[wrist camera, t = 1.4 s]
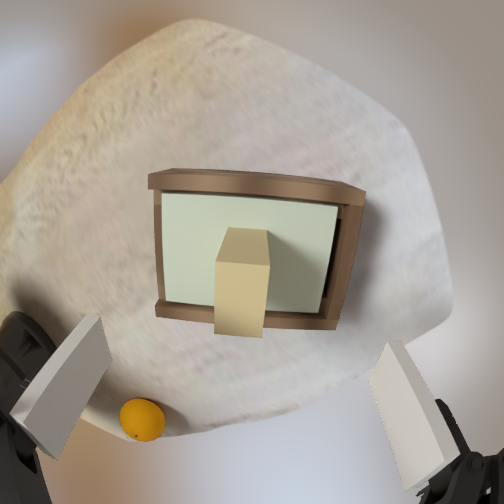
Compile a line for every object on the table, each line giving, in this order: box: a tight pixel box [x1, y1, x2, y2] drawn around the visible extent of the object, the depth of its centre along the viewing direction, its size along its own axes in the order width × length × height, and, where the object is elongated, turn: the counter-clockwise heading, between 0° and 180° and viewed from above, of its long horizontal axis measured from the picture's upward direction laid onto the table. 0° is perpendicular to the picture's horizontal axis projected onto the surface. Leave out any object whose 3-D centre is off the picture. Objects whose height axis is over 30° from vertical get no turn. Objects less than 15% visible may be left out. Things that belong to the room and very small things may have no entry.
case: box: [148, 168, 366, 330], centre depth 25 cm, size 17×13×6 cm
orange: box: [119, 398, 165, 442], centre depth 36 cm, size 8×8×8 cm
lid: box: [162, 192, 338, 338], centre depth 19 cm, size 14×10×8 cm
